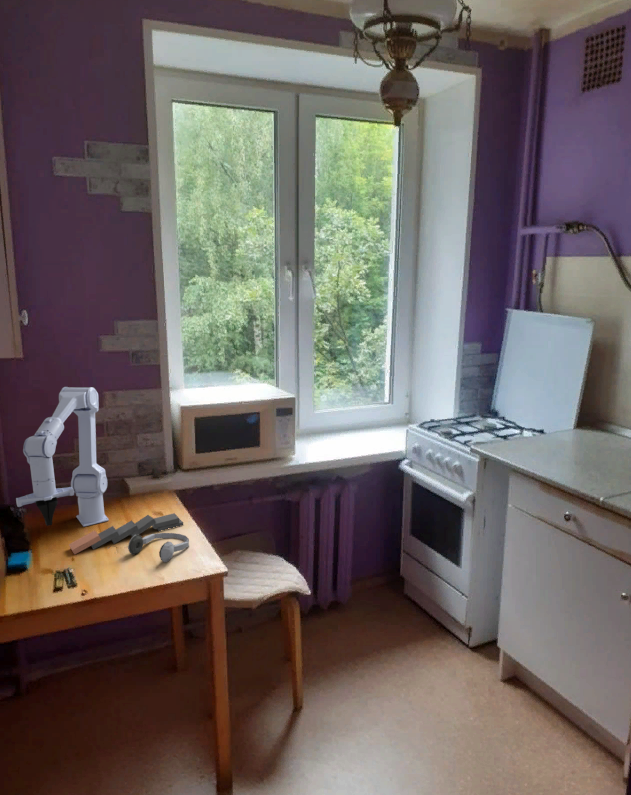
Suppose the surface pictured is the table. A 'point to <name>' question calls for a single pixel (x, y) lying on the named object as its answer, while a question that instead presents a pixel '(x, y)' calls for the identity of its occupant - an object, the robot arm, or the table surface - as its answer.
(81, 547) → the domino
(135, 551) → the headphones
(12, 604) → the table surface
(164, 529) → the domino
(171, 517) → the domino
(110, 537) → the domino
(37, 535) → the table surface
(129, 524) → the domino
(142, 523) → the domino
